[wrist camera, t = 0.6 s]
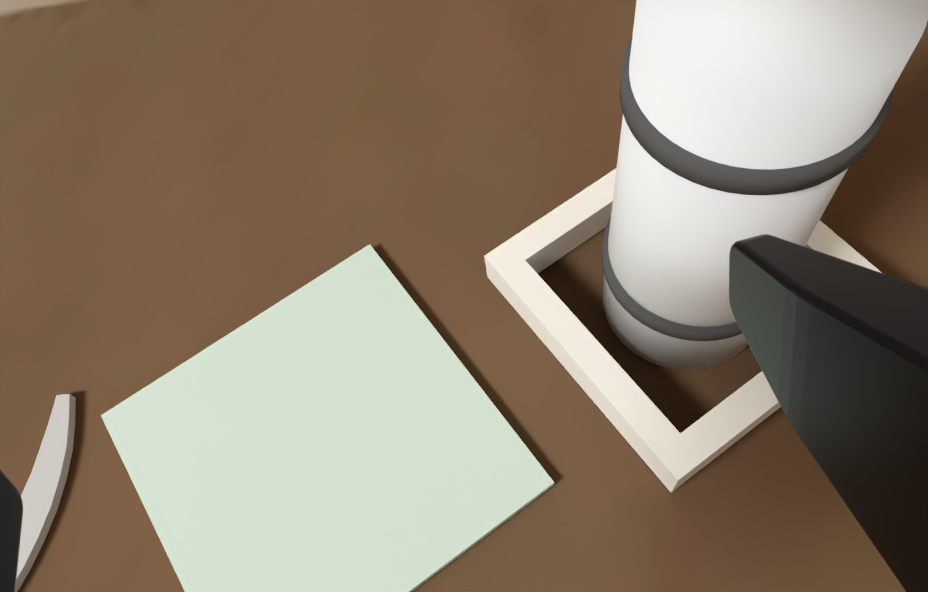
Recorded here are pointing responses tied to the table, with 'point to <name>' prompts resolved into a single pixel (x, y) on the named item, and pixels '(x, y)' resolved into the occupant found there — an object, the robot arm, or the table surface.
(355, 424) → the mat
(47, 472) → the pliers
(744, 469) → the table surface
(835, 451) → the robot arm
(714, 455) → the white square frame
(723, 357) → the grey-banded white cylinder
